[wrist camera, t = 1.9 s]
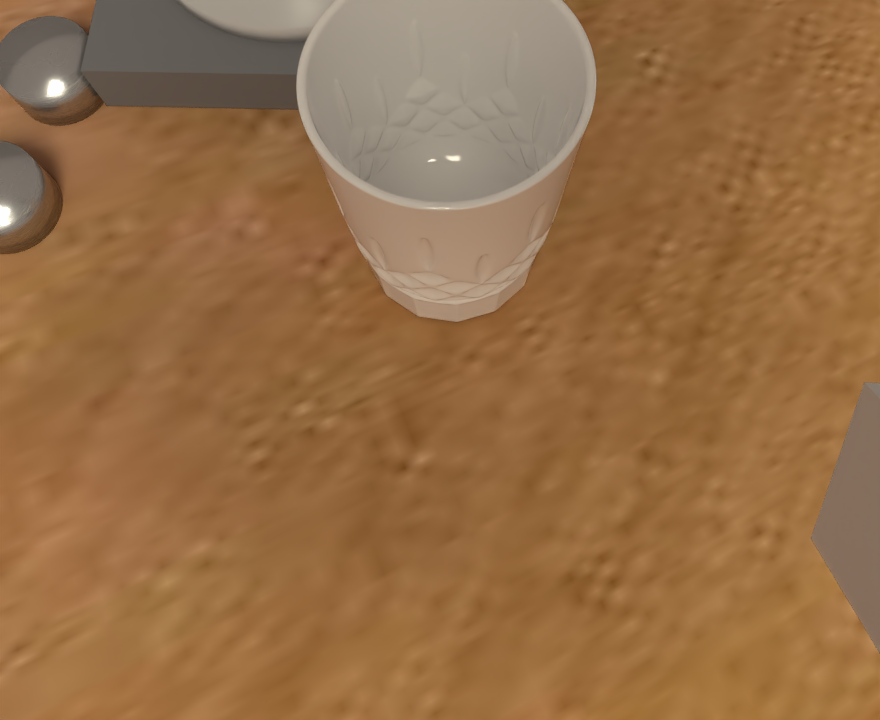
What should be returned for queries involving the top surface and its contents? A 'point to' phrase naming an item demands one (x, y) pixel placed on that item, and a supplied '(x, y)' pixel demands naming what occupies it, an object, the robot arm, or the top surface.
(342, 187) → the white cup
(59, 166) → the top surface
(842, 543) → the robot arm
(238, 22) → the scale
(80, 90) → the cylinder
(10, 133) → the top surface
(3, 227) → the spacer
